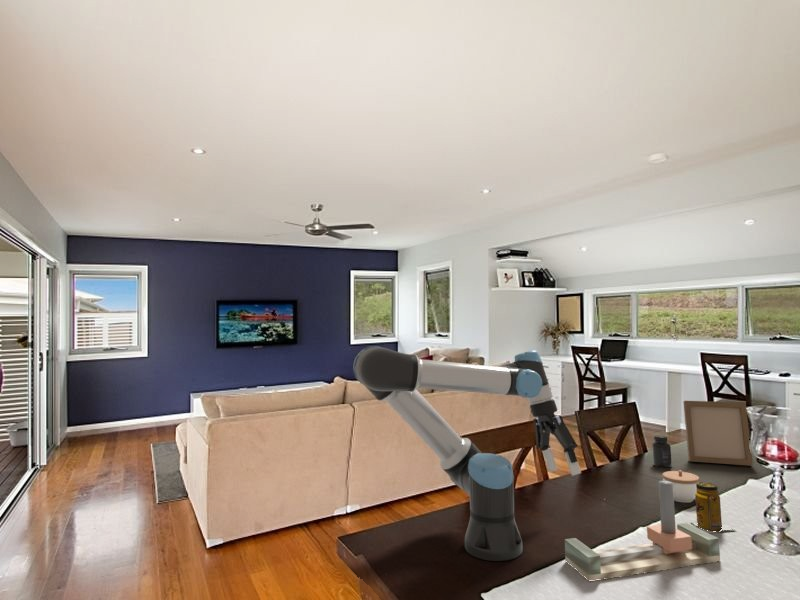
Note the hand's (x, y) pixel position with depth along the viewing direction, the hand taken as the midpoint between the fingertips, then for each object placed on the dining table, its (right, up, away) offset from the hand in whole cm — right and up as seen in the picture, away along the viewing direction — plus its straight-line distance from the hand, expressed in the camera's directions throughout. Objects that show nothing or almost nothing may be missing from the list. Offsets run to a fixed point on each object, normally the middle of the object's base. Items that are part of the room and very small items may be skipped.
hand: (564, 472), depth 144 cm
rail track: (+11, -14, -23) cm, 29 cm away
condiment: (+41, -14, -4) cm, 44 cm away
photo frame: (+85, -17, +61) cm, 106 cm away
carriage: (+19, -11, -21) cm, 31 cm away
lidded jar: (+45, -15, +18) cm, 51 cm away
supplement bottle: (+59, -17, +56) cm, 83 cm away
